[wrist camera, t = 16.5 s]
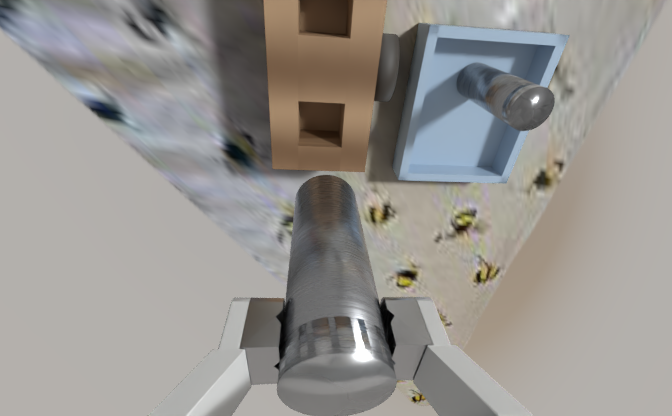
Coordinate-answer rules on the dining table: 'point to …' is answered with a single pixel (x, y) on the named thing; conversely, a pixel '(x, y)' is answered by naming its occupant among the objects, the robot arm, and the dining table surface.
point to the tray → (465, 102)
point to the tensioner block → (326, 80)
